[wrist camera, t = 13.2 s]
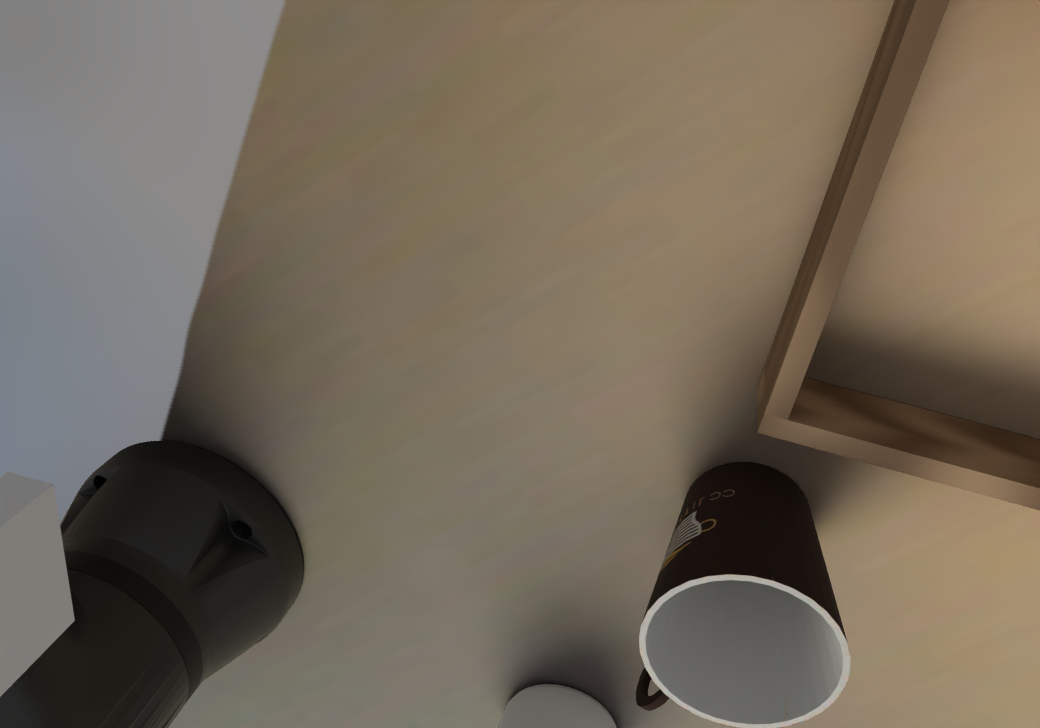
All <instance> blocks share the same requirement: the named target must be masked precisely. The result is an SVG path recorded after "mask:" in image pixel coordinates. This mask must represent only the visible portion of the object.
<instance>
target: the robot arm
mask: <svg viewBox="0 0 1040 728" xmlns="http://www.w3.org/2000/svg"><path fill="white" fill-rule="evenodd" d="M302 580H303V560H302V554H301V550H300V546H299V543H298V540H297V537H296V535H295V533H294V530H293V528H292V526H291V524H290V523H289V521H288V519H287V518H286V516H285V514H284V513H283V511H282V510H281V509H280V507H279V506H278V505H277V503H276V502H275V501H274V500H273V498H272V497H271V496H270V495H269V494H268V493H267V492H266V491H265V490H264V489H263V488H262V487H261V486H260V485H259V484H258V483H257V482H256V481H255V480H253V479H252V478H251V477H250V476H249V475H247V474H246V473H245V472H243V471H242V470H241V469H239V468H238V467H236V466H235V465H233V464H231V463H230V462H228V461H226V460H225V459H223V458H221V457H219V456H217V455H215V454H213V453H211V452H208V451H206V450H203V449H200V448H197V447H194V446H191V445H187V444H182V443H177V442H170V441H150V442H143V443H138V444H135V445H132V446H129V447H127V448H125V449H123V450H121V451H120V452H118V453H117V454H116V455H114V456H113V457H112V458H111V459H109V460H108V461H107V462H106V463H104V464H103V465H102V466H101V467H100V468H98V469H97V470H96V471H95V472H94V473H93V474H92V475H91V476H90V477H89V478H88V479H87V480H86V481H85V483H84V484H83V485H82V487H81V489H80V490H79V492H78V494H77V495H76V497H75V499H74V501H73V502H72V504H71V506H70V508H69V509H68V511H67V513H66V515H65V516H64V518H63V520H62V522H61V524H60V523H59V517H58V510H57V503H56V497H55V490H54V485H53V484H49V483H46V482H42V481H39V480H35V479H32V478H28V477H24V476H21V475H17V474H14V473H10V472H7V473H5V474H4V475H3V476H1V477H0V728H168V727H169V726H170V724H171V723H172V721H173V720H174V719H175V717H176V716H177V715H178V713H179V712H180V711H181V709H182V708H183V706H184V705H185V703H186V702H187V701H188V699H189V698H190V697H191V695H192V694H193V693H194V691H195V690H196V689H197V688H198V686H199V685H200V684H201V683H202V682H203V681H204V680H205V679H206V678H208V677H209V676H211V675H212V674H214V673H215V672H217V671H218V670H219V669H221V668H222V667H224V666H225V665H227V664H228V663H230V662H231V661H232V660H234V659H235V658H237V657H238V656H240V655H241V654H242V653H244V652H245V651H246V650H248V649H249V648H250V647H252V646H253V645H254V644H256V643H258V642H260V641H261V640H262V639H264V638H265V637H267V636H268V635H269V634H270V633H271V632H272V631H273V630H274V629H275V628H276V627H277V626H278V624H279V623H280V622H281V620H282V619H283V618H284V616H285V615H286V613H287V612H288V610H289V609H290V608H291V606H292V605H293V603H294V602H295V600H296V598H297V596H298V594H299V592H300V589H301V585H302Z"/></svg>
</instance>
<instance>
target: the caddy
mask: <svg viewBox="0 0 1040 728" xmlns="http://www.w3.org/2000/svg"><path fill="white" fill-rule="evenodd" d="M948 3H949V0H895V2H894V4H893V7H892V10H891V13H890V16H889V18H888V21H887V24H886V27H885V30H884V32H883V35H882V38H881V41H880V44H879V46H878V49H877V52H876V55H875V58H874V61H873V63H872V66H871V69H870V72H869V75H868V77H867V80H866V83H865V86H864V89H863V91H862V94H861V97H860V100H859V103H858V106H857V108H856V111H855V114H854V117H853V120H852V122H851V125H850V128H849V131H848V134H847V136H846V139H845V142H844V145H843V148H842V150H841V153H840V156H839V159H838V162H837V165H836V167H835V170H834V173H833V176H832V179H831V181H830V184H829V187H828V190H827V193H826V195H825V198H824V201H823V204H822V207H821V210H820V212H819V215H818V218H817V221H816V224H815V226H814V229H813V232H812V235H811V238H810V240H809V243H808V246H807V249H806V252H805V254H804V257H803V260H802V263H801V266H800V269H799V271H798V274H797V277H796V280H795V283H794V285H793V288H792V291H791V294H790V297H789V299H788V302H787V305H786V308H785V311H784V314H783V316H782V319H781V322H780V325H779V328H778V330H777V333H776V336H775V339H774V342H773V344H772V347H771V350H770V353H769V356H768V358H767V361H766V364H765V367H764V370H763V373H762V375H761V378H760V381H759V384H758V430H757V433H760V434H764V435H767V436H771V437H775V438H778V439H782V440H785V441H789V442H793V443H796V444H800V445H804V446H807V447H811V448H815V449H818V450H822V451H826V452H829V453H833V454H836V455H840V456H844V457H847V458H851V459H855V460H858V461H862V462H866V463H869V464H873V465H877V466H880V467H884V468H887V469H891V470H895V471H898V472H902V473H906V474H909V475H913V476H917V477H920V478H924V479H927V480H931V481H935V482H938V483H942V484H946V485H949V486H953V487H957V488H960V489H964V490H968V491H971V492H975V493H978V494H982V495H986V496H989V497H993V498H997V499H1000V500H1004V501H1008V502H1011V503H1015V504H1019V505H1022V506H1026V507H1029V508H1033V509H1037V510H1040V439H1036V438H1032V437H1028V436H1025V435H1021V434H1017V433H1013V432H1009V431H1006V430H1002V429H998V428H994V427H990V426H987V425H983V424H979V423H975V422H971V421H968V420H964V419H960V418H956V417H953V416H949V415H945V414H941V413H937V412H934V411H930V410H926V409H922V408H918V407H915V406H911V405H907V404H903V403H899V402H896V401H892V400H888V399H884V398H880V397H877V396H873V395H869V394H865V393H861V392H858V391H854V390H850V389H846V388H842V387H839V386H835V385H831V384H827V383H823V382H820V381H816V380H812V379H808V378H804V376H805V374H806V371H807V369H808V366H809V363H810V361H811V358H812V356H813V353H814V350H815V348H816V345H817V343H818V340H819V337H820V335H821V332H822V330H823V327H824V325H825V322H826V319H827V317H828V314H829V312H830V309H831V306H832V304H833V301H834V299H835V296H836V293H837V291H838V288H839V286H840V283H841V280H842V278H843V275H844V273H845V270H846V267H847V265H848V262H849V260H850V257H851V254H852V252H853V249H854V247H855V244H856V242H857V239H858V236H859V234H860V231H861V229H862V226H863V223H864V221H865V218H866V216H867V213H868V210H869V208H870V205H871V203H872V200H873V197H874V195H875V192H876V190H877V187H878V184H879V182H880V179H881V177H882V174H883V171H884V169H885V166H886V164H887V161H888V158H889V156H890V153H891V151H892V148H893V146H894V143H895V140H896V138H897V135H898V133H899V130H900V127H901V125H902V122H903V120H904V117H905V114H906V112H907V109H908V107H909V104H910V101H911V99H912V96H913V94H914V91H915V88H916V86H917V83H918V81H919V78H920V75H921V73H922V70H923V68H924V65H925V63H926V60H927V57H928V55H929V52H930V50H931V47H932V44H933V42H934V39H935V37H936V34H937V31H938V29H939V26H940V24H941V21H942V18H943V16H944V13H945V11H946V8H947V5H948Z"/></svg>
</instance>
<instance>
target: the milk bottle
mask: <svg viewBox="0 0 1040 728" xmlns="http://www.w3.org/2000/svg"><path fill="white" fill-rule="evenodd" d="M498 728H617V727H616V724H615V722H614V720H613V718H612V716H611V715H610V714H609V712H608V711H607V710H606V709H605V708H604V707H603V706H602V705H601V704H600V703H599V702H598V701H596V700H595V699H593V698H592V697H591V696H589V695H587V694H585V693H583V692H581V691H579V690H576V689H573V688H570V687H567V686H562V685H557V684H541V685H534V686H531V687H527V688H525V689H524V690H522V691H520V692H518V693H517V694H516V695H515V696H514V697H513V698H512V699H511V700H510V701H509V702H508V703H507V705H506V707H505V709H504V712H503V715H502V717H501V720H500V723H499V726H498Z"/></svg>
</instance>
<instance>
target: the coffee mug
mask: <svg viewBox="0 0 1040 728" xmlns="http://www.w3.org/2000/svg"><path fill="white" fill-rule="evenodd" d="M639 647H640V655H641V657H642V660H643V663H644V666H645V668H644V670H643V672H642V674H641V676H640V679H639V682H638V686H637V690H636V702H637V705H639V706H640V707H642V708H643V709H645V710H648V711H650V710H654V709H656V708H658V707H660V706H661V705H663V704H664V703H665V702H666V701H667V700H668V699H669V698H670V699H672V700H673V701H674V702H675V703H677V704H678V705H679V706H681V707H683V708H685V709H686V710H688V711H690V712H692V713H693V714H695V715H698V716H700V717H703V718H705V719H708V720H710V721H713V722H716V723H720V724H724V725H728V726H732V727H739V728H779V727H785V726H791V725H794V724H797V723H800V722H803V721H806V720H808V719H810V718H812V717H814V716H816V715H817V714H819V713H821V712H823V711H824V710H825V709H826V708H828V707H829V706H830V705H831V704H832V703H833V702H834V701H836V699H837V698H838V696H839V695H840V694H841V692H842V691H843V689H844V688H845V685H846V683H847V680H848V677H849V674H850V662H851V657H850V652H849V648H848V643H847V639H846V636H845V632H844V629H843V625H842V622H841V618H840V614H839V611H838V607H837V604H836V600H835V597H834V593H833V590H832V586H831V582H830V579H829V575H828V572H827V568H826V565H825V561H824V558H823V554H822V550H821V547H820V543H819V540H818V536H817V533H816V529H815V526H814V522H813V518H812V515H811V511H810V508H809V504H808V501H807V499H806V497H805V495H804V493H803V491H802V490H801V489H800V488H799V486H798V485H797V484H796V483H795V482H794V481H793V480H792V479H790V478H789V477H788V476H787V475H785V474H783V473H782V472H780V471H778V470H776V469H774V468H771V467H768V466H766V465H762V464H757V463H750V462H736V463H729V464H724V465H721V466H718V467H715V468H713V469H711V470H709V471H707V472H705V473H704V474H703V475H702V476H700V477H699V478H698V479H697V480H696V481H695V482H694V483H693V485H692V486H691V487H690V489H689V491H688V493H687V495H686V498H685V501H684V504H683V507H682V509H681V512H680V515H679V518H678V521H677V524H676V527H675V530H674V532H673V535H672V538H671V541H670V544H669V547H668V550H667V552H666V555H665V558H664V561H663V564H662V567H661V570H660V572H659V575H658V578H657V581H656V584H655V587H654V590H653V593H652V595H651V598H650V601H649V604H648V607H647V610H646V613H645V615H644V618H643V621H642V624H641V629H640V635H639ZM651 678H652V680H653V682H654V683H655V684H656V685H657V686H658V687H659V688H660V690H659V691H658V692H656V693H655V694H654V695H652V696H648V687H649V683H650V680H651Z"/></svg>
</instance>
